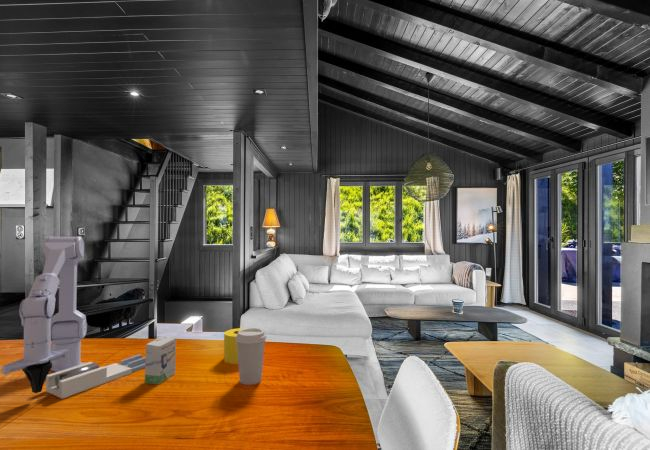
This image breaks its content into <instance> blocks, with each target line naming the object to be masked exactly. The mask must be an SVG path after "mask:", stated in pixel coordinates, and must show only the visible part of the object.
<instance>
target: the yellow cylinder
mask: <svg viewBox="0 0 650 450" xmlns="http://www.w3.org/2000/svg"><path fill="white" fill-rule="evenodd" d="M243 329H246V328H245V327H244V328H242V327H241V328H240V327H239V328H238V327H237V328H231V329H229V330H225V331H224V332H223V333H224V334H223V338H224V339H223V360H224V362H225V363H227V364H233V365H239V364H238V351H237V341H235V338H236V335H237V334H238V331H240V330H243Z"/></svg>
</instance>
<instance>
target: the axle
mask: <svg viewBox="0 0 650 450" xmlns="http://www.w3.org/2000/svg"><path fill="white" fill-rule="evenodd" d="M97 368H100V366H99V364H98V363H97V362H92V364H89V365H86V366H82V367H79V368H76V369H73V370H70V371H66V372H63V373H60V374H57V375H56V377H55V383H56V386H57V388H59V381H60V380H63V379H66V378H69V377H72V376H75V375H79V374H82V373H85V372H88V371H91V370H94V369H97Z"/></svg>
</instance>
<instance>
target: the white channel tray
mask: <svg viewBox="0 0 650 450" xmlns="http://www.w3.org/2000/svg"><path fill="white" fill-rule="evenodd" d="M84 363H85V364H81V365H78V366H75V367H72V368H68V369H65V370H62V371H59V372H55V371H54V372H53V373H48V374H47V376H46V379H45V392H47V393H49V394H51V395H53V396H56V397H58V398H60V399H62V400H63V399H66V398H68V397H70V396H73V395H74V396H75V395H76V394H78V393H81V392H84V391H87V390H90V389H92V388H95V387H99V386H100V385H103V384H106V383H108V382H112V381H114V380H117V379H119V378H122V377H126V376H127V375H130V374H132V373H133V372H132V368H129V367H126V366H123V365H120V363H116V362H114V363H111V364H109V365H105V366H104V365H103V366H99V368H97V369H94V370H91V371H88V372H85V373H82V374H79V375H75V376H72V377H69V378H66V379H63V380H60V381H59V388H57V386H56V383H55V377H56V375H57V374H60V373H63V372H66V371H70V370H73V369H76V368H79V367H82V366H86V365H89V364H92V363H93V362H92V361H87V362H84Z"/></svg>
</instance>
